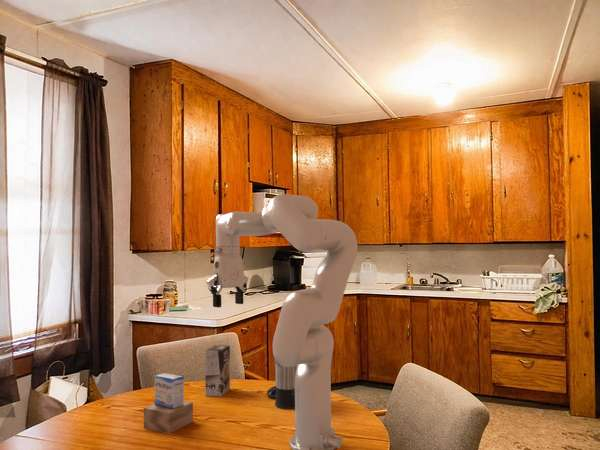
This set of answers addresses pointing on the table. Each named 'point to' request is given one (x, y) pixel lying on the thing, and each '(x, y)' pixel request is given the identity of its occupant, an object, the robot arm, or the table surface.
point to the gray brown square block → (168, 417)
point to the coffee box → (217, 370)
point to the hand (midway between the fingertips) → (228, 305)
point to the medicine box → (169, 390)
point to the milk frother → (284, 387)
